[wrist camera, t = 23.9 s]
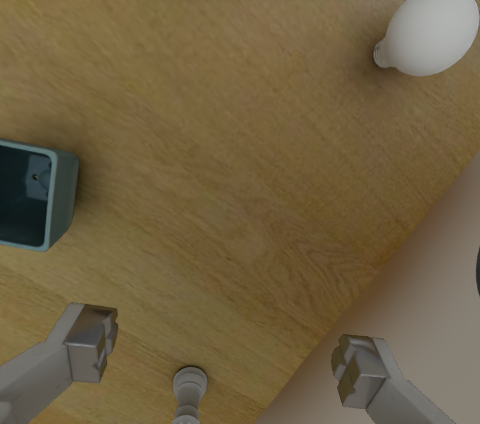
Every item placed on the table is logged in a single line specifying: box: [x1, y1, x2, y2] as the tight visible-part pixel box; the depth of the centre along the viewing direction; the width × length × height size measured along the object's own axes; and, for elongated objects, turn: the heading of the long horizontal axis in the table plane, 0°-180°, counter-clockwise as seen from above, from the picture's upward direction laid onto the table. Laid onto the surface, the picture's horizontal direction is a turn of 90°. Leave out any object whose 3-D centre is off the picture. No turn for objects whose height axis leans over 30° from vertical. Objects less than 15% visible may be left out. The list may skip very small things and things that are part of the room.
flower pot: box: [0, 138, 79, 252], centre depth 30 cm, size 9×9×9 cm
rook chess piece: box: [172, 367, 207, 424], centre depth 37 cm, size 4×4×8 cm
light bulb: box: [373, 0, 479, 76], centre depth 28 cm, size 7×7×11 cm
